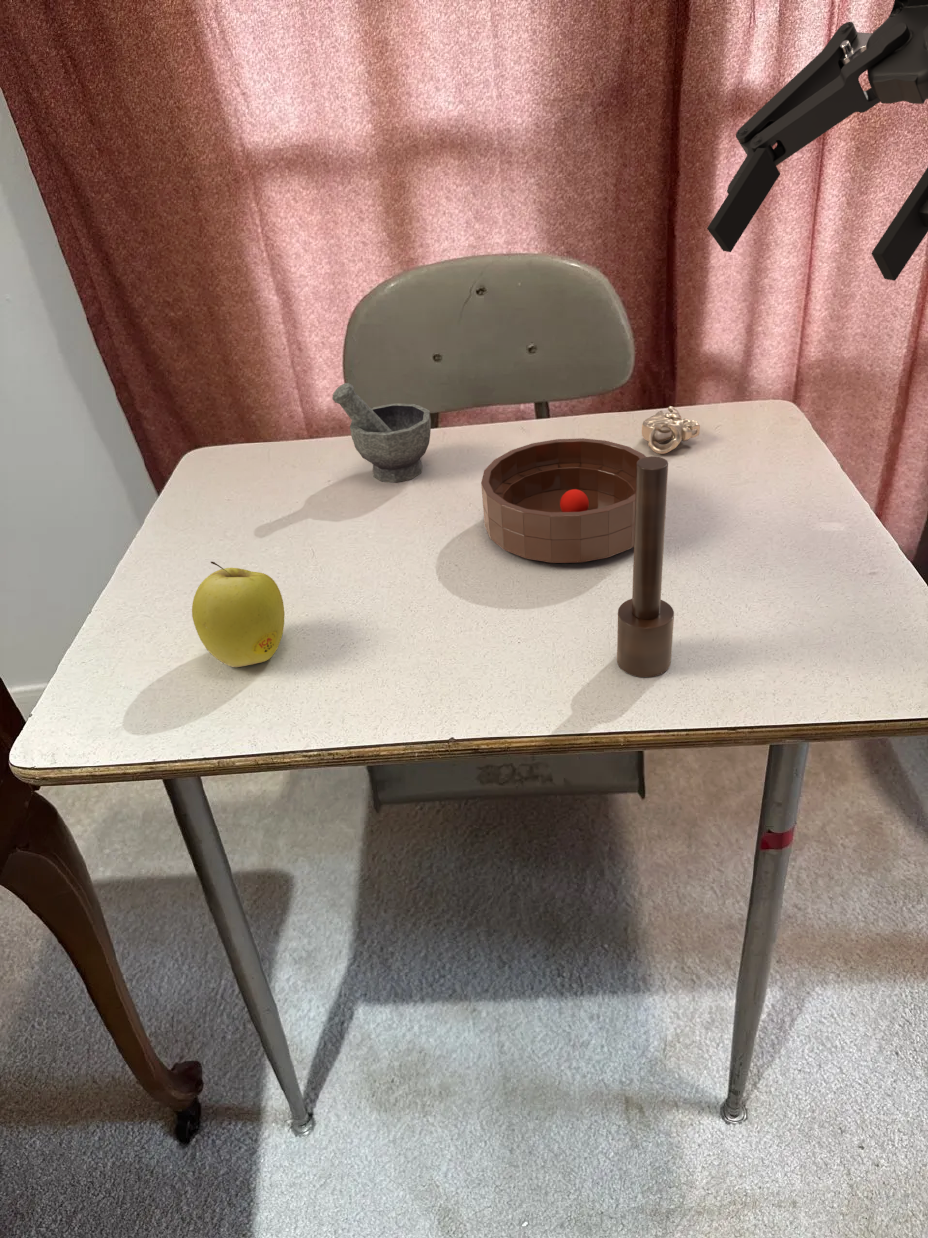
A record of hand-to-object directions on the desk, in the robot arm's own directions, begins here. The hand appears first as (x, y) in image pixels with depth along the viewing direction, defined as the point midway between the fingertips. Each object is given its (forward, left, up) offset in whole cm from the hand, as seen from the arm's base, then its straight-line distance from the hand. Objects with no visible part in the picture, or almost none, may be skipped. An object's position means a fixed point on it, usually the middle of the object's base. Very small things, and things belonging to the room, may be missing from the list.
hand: (793, 253), depth 57 cm
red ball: (+16, +16, -27) cm, 35 cm away
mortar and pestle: (+29, +38, -30) cm, 57 cm away
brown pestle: (-8, +9, -30) cm, 32 cm away
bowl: (+15, +16, -30) cm, 37 cm away
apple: (-7, +44, -30) cm, 54 cm away
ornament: (+35, +4, -30) cm, 46 cm away
